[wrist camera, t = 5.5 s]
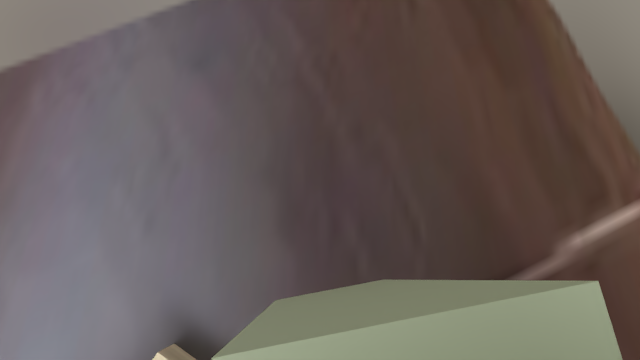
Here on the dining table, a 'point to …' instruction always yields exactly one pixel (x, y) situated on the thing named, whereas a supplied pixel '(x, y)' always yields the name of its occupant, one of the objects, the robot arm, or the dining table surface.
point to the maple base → (173, 354)
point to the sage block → (434, 323)
